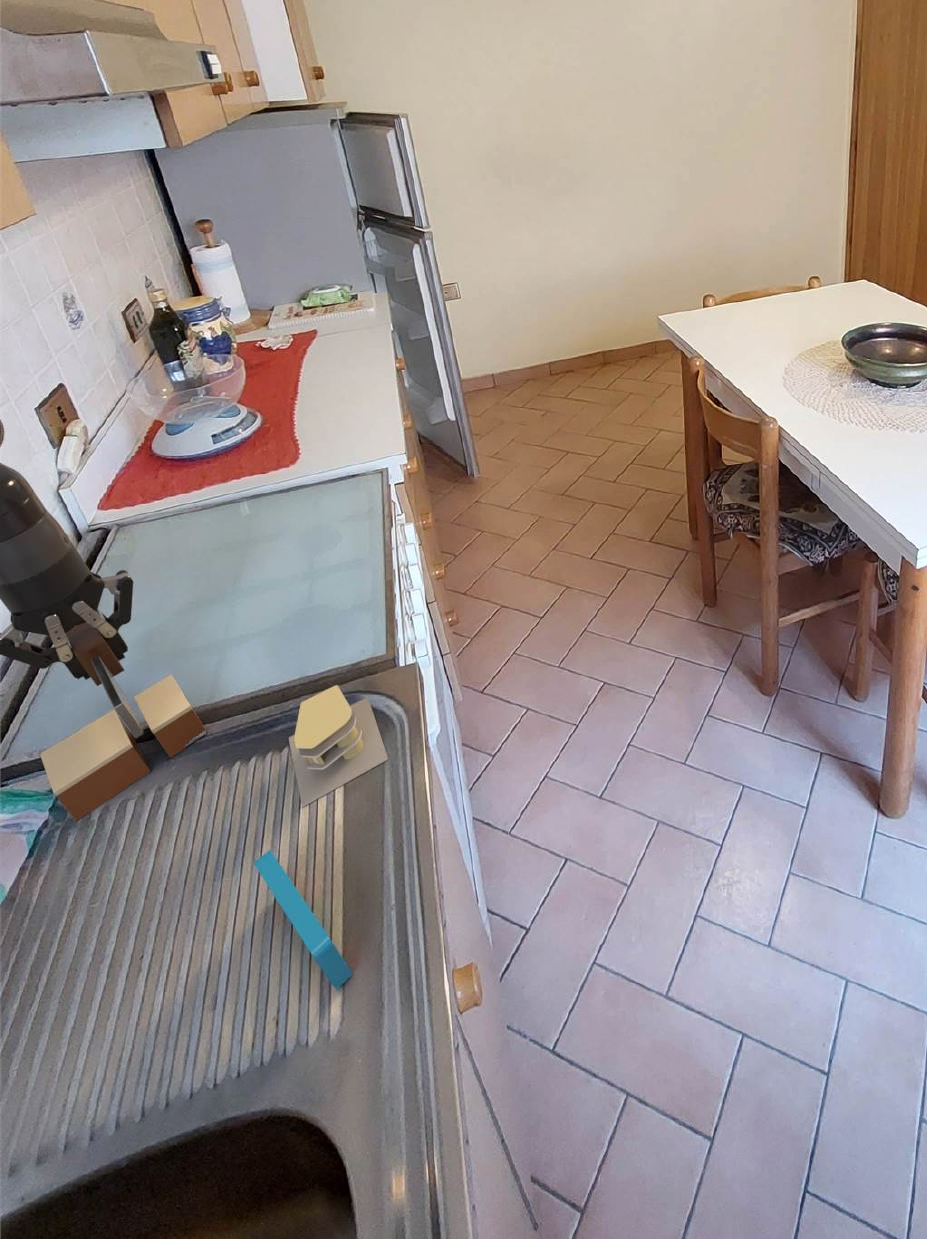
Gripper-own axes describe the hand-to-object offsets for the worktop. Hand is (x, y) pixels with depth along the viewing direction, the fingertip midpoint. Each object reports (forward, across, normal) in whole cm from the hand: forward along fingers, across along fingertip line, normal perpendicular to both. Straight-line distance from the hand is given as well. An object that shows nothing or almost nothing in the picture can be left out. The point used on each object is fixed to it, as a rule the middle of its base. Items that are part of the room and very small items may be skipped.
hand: (103, 664), depth 87 cm
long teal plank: (+7, -4, +44) cm, 45 cm away
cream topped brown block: (+7, -3, +10) cm, 12 cm away
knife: (0, 0, +6) cm, 6 cm away
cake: (+7, +5, +10) cm, 13 cm away
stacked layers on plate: (+7, -14, +28) cm, 32 cm away
